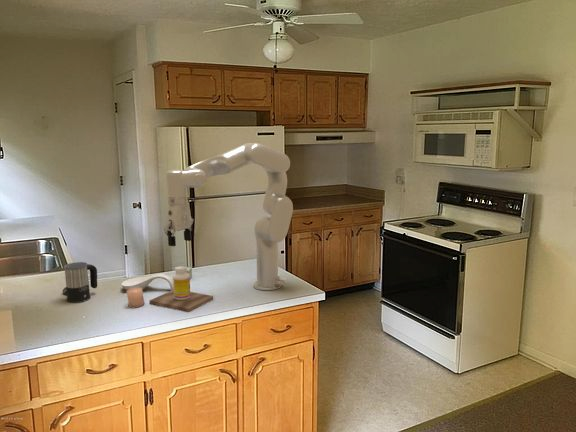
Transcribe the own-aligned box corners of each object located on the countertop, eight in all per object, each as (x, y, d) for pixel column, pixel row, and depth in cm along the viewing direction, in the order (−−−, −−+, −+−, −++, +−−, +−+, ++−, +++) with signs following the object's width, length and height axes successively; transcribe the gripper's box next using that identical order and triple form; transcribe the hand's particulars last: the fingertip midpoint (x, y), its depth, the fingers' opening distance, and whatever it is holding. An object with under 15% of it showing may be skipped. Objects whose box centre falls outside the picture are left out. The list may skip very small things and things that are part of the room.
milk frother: (81, 304, 198) (78, 268, 195) (47, 300, 201) (44, 266, 198) (101, 292, 211) (99, 259, 208) (70, 289, 215) (67, 257, 212)
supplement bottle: (191, 299, 198) (190, 269, 196) (175, 301, 196) (174, 271, 193) (188, 294, 204) (187, 264, 202) (172, 296, 202) (171, 266, 200)
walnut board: (213, 299, 203) (213, 295, 202) (189, 312, 189) (189, 308, 188) (175, 292, 211) (175, 288, 211) (149, 304, 197) (149, 300, 197)
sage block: (192, 277, 232) (191, 267, 231) (188, 280, 227) (188, 270, 226) (182, 277, 233) (181, 267, 232) (178, 280, 228) (178, 270, 227)
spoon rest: (117, 293, 210) (116, 277, 209) (127, 285, 222) (127, 270, 220) (171, 295, 209) (170, 279, 207) (178, 286, 220) (178, 271, 219)
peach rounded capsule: (135, 300, 200) (132, 286, 199) (147, 301, 198) (145, 288, 197) (125, 306, 195) (123, 293, 193) (138, 308, 193) (136, 294, 191)
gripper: (170, 205, 183) (173, 249, 186) (198, 198, 198) (200, 239, 202) (155, 203, 186) (158, 247, 190) (184, 197, 202) (186, 237, 205)
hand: (180, 243), depth 196 cm, fingers open, 9 cm apart
